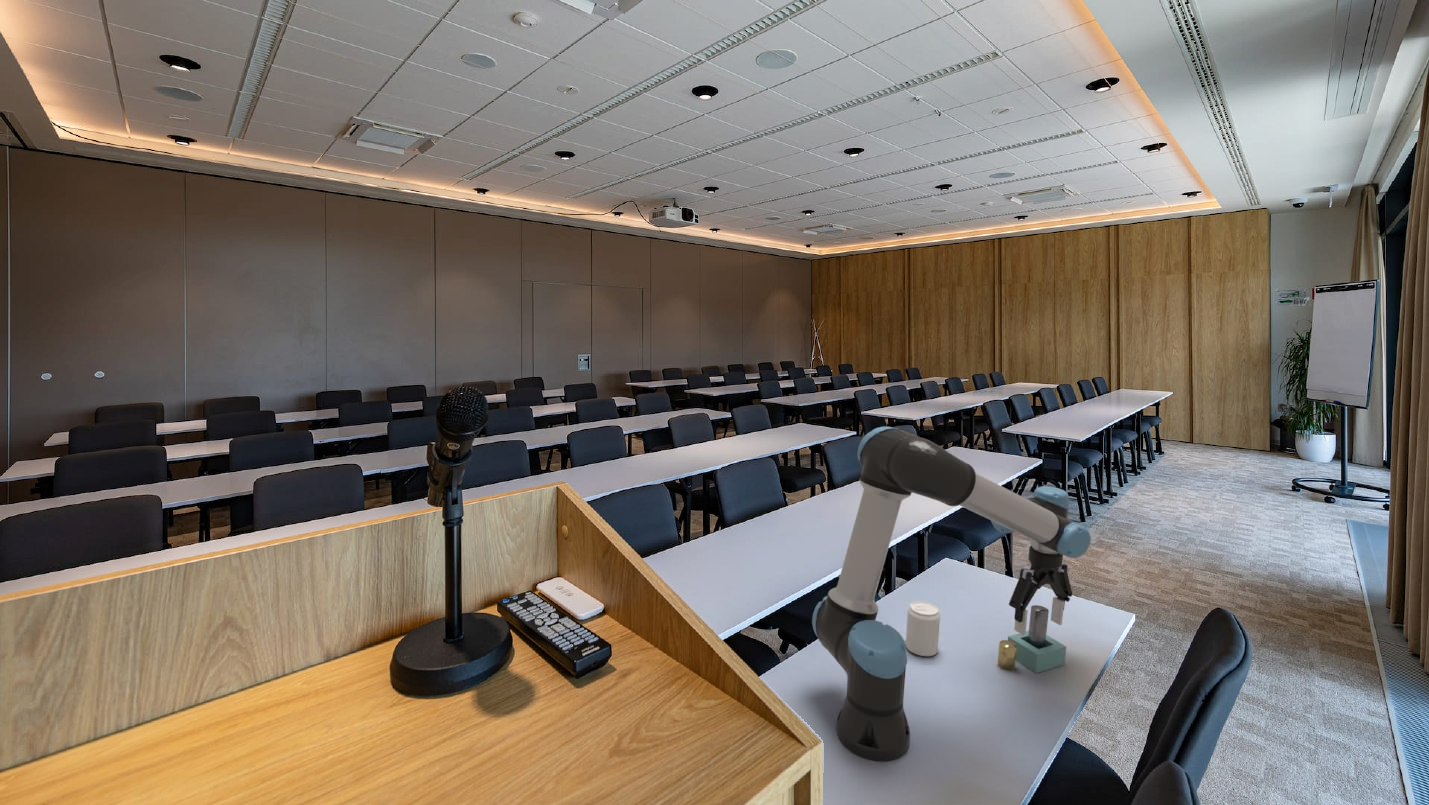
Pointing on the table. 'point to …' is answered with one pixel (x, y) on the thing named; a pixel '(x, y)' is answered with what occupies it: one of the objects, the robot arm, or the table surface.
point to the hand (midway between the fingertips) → (1038, 627)
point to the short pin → (1007, 655)
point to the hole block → (1038, 653)
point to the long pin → (1038, 626)
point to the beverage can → (922, 628)
